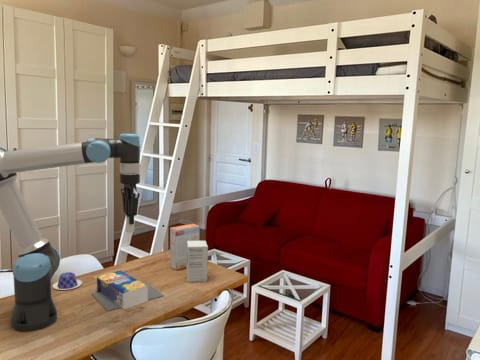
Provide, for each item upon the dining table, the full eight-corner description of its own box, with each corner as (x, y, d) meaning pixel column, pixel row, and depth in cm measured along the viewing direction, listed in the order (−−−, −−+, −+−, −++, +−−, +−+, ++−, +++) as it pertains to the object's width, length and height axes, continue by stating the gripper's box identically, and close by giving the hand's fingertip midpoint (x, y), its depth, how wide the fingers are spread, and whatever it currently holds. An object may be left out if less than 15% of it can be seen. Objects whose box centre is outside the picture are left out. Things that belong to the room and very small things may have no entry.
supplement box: (186, 274, 196) (186, 240, 193) (205, 273, 197) (205, 239, 195) (187, 282, 186) (187, 246, 184) (207, 281, 188) (208, 246, 186)
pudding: (75, 292, 173) (75, 280, 172) (47, 290, 173) (46, 279, 173) (86, 280, 185) (86, 269, 184) (60, 279, 185) (60, 268, 184)
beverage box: (147, 285, 165) (120, 270, 180) (123, 293, 157) (96, 276, 172) (147, 301, 166) (120, 284, 181) (123, 309, 158) (97, 291, 173)
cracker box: (193, 261, 213) (193, 222, 210) (199, 265, 208) (200, 225, 205) (169, 267, 204) (169, 226, 201) (175, 271, 199) (176, 229, 196)
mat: (107, 311, 156) (107, 310, 156) (91, 294, 170) (91, 293, 170) (164, 296, 171) (164, 295, 171) (145, 282, 185) (145, 281, 185)
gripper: (146, 174, 157) (146, 234, 161) (132, 170, 167) (132, 226, 171) (127, 176, 153) (127, 237, 156) (114, 171, 163) (114, 229, 166)
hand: (130, 231), depth 164 cm, fingers closed
